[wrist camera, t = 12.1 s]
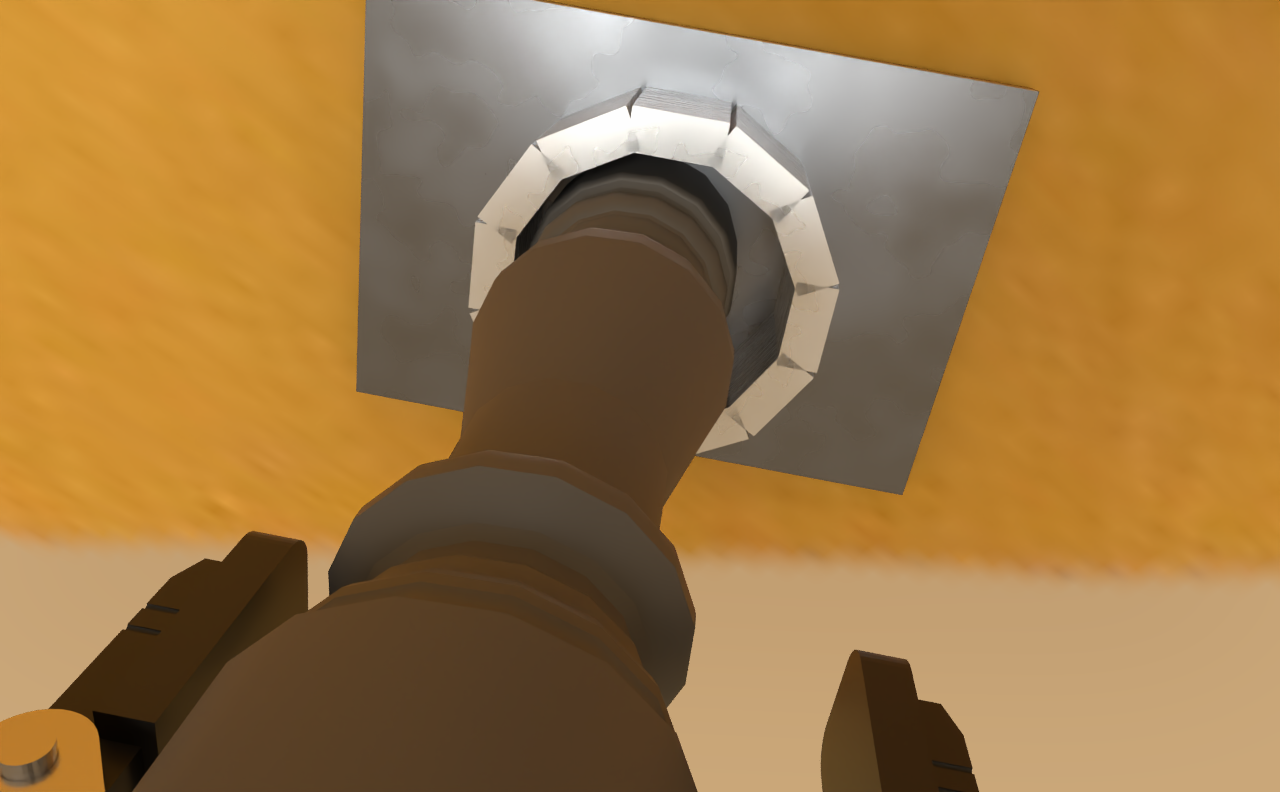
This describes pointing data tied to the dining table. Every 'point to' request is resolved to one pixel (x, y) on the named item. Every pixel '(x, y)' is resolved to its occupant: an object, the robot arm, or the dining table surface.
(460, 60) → the steel collar
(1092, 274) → the dining table surface
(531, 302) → the candle holder
